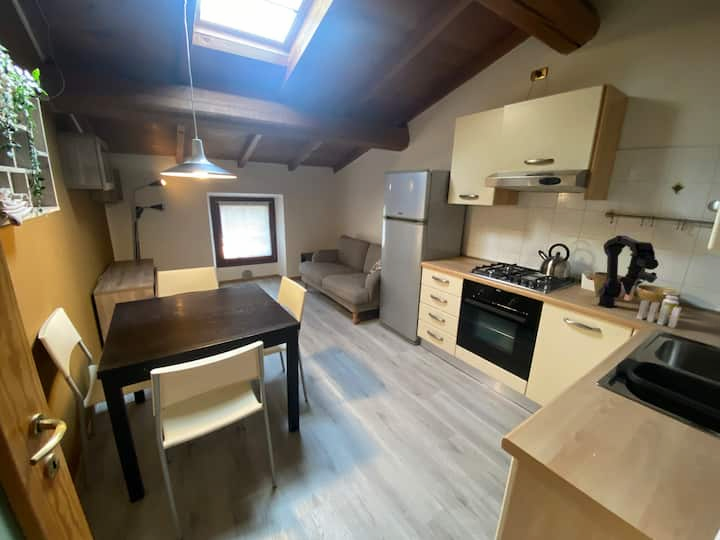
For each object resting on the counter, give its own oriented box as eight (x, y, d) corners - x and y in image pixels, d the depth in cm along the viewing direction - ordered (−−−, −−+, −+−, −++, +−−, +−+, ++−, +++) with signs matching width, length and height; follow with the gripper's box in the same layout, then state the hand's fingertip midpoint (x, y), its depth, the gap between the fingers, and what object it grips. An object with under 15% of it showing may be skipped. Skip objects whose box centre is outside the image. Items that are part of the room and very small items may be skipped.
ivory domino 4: (667, 326, 147) (673, 307, 145) (670, 324, 150) (675, 306, 148) (673, 327, 146) (679, 309, 143) (676, 326, 148) (681, 307, 146)
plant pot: (586, 297, 193) (591, 273, 189) (592, 293, 202) (597, 270, 199) (615, 303, 182) (621, 278, 178) (620, 299, 191) (626, 275, 188)
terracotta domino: (623, 299, 157) (628, 281, 154) (627, 298, 159) (631, 280, 157) (628, 300, 155) (633, 282, 153) (632, 299, 158) (636, 281, 155)
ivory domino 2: (646, 320, 154) (651, 303, 152) (649, 319, 157) (654, 301, 154) (651, 322, 152) (656, 304, 150) (654, 320, 155) (659, 302, 153)
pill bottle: (678, 317, 160) (683, 298, 158) (664, 316, 162) (670, 297, 159) (668, 313, 166) (674, 295, 164) (656, 312, 167) (661, 294, 165)
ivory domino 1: (636, 318, 157) (641, 300, 155) (639, 316, 160) (644, 299, 158) (641, 319, 156) (646, 301, 153) (644, 317, 158) (649, 300, 156)
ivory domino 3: (656, 323, 151) (662, 305, 148) (659, 321, 153) (664, 303, 151) (662, 325, 149) (667, 306, 147) (665, 323, 152) (670, 305, 149)
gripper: (651, 270, 141) (643, 301, 145) (663, 267, 151) (655, 295, 155) (622, 266, 151) (615, 294, 154) (635, 263, 160) (628, 290, 164)
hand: (629, 294), depth 156 cm, fingers closed on terracotta domino, 5 cm apart
